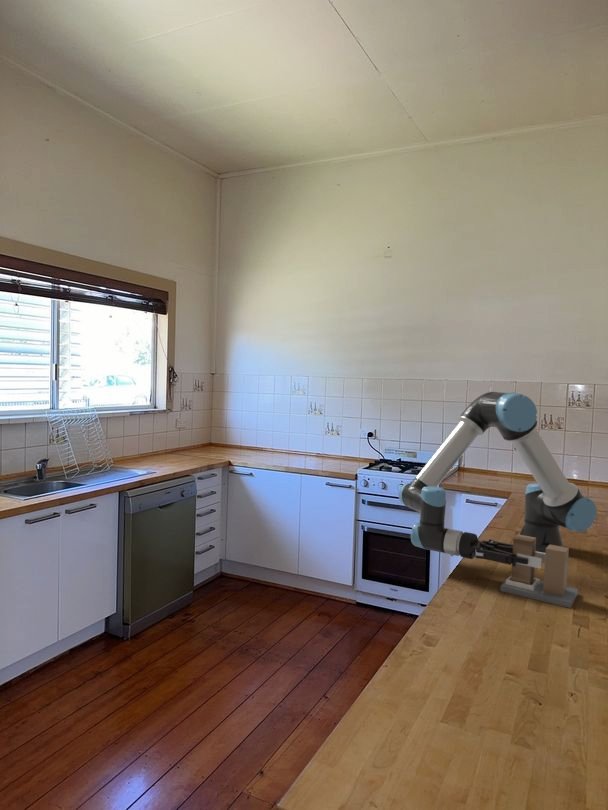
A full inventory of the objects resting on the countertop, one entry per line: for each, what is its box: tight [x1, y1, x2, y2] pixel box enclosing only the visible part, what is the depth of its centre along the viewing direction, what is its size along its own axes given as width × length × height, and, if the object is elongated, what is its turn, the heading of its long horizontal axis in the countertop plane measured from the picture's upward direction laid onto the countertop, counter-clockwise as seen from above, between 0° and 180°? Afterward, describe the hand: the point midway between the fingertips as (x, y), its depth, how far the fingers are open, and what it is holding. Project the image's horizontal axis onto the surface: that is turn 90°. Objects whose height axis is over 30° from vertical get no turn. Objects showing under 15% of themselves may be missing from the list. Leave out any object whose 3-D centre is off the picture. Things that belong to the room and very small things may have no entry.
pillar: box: [510, 533, 536, 584], centre depth 159 cm, size 5×5×12 cm
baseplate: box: [500, 544, 579, 609], centre depth 157 cm, size 12×18×14 cm, turn 55°
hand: (543, 560), depth 156 cm, fingers closed on pillar, 5 cm apart
